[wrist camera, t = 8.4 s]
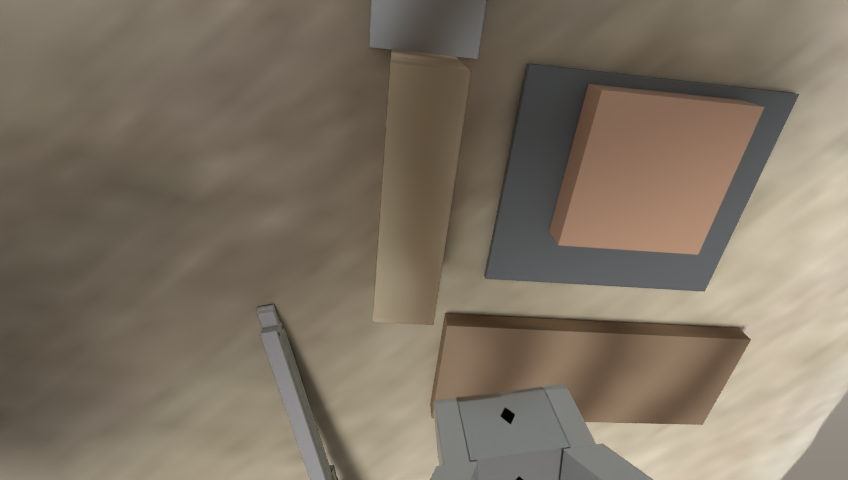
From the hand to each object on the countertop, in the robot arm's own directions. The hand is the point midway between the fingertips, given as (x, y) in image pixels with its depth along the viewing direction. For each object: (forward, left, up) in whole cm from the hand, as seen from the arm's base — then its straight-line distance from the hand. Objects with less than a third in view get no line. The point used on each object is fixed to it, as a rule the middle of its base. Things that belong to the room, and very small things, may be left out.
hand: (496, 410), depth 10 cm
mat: (+11, 0, -16) cm, 19 cm away
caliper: (-6, -19, -16) cm, 26 cm away
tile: (+11, -3, -14) cm, 18 cm away
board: (+12, -13, -16) cm, 24 cm away
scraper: (-1, +2, -16) cm, 16 cm away
